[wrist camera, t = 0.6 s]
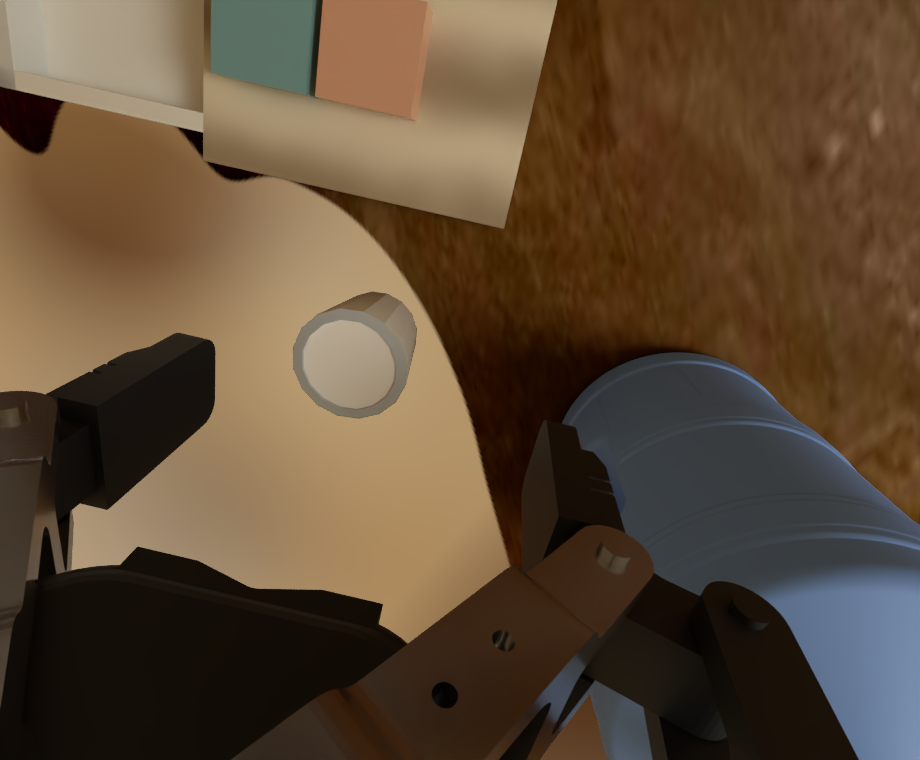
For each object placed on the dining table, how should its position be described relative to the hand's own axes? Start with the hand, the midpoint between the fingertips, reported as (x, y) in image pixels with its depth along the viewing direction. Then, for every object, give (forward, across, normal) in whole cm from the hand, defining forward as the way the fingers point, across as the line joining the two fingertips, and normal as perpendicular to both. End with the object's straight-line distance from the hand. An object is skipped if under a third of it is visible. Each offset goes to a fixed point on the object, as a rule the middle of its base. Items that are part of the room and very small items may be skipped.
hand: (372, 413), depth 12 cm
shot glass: (+23, +5, +7) cm, 25 cm away
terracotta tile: (+20, +6, -9) cm, 23 cm away
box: (+23, +22, -9) cm, 33 cm away
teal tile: (+20, +12, -9) cm, 25 cm away
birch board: (+23, +7, -9) cm, 26 cm away
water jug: (+23, -18, +11) cm, 31 cm away
